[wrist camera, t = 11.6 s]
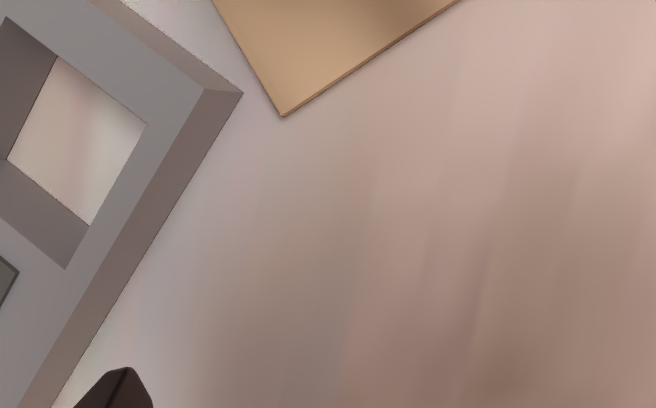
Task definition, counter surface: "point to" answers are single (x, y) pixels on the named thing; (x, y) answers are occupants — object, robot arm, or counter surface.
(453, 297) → the counter surface
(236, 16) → the cork pad
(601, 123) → the counter surface
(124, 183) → the power strip
